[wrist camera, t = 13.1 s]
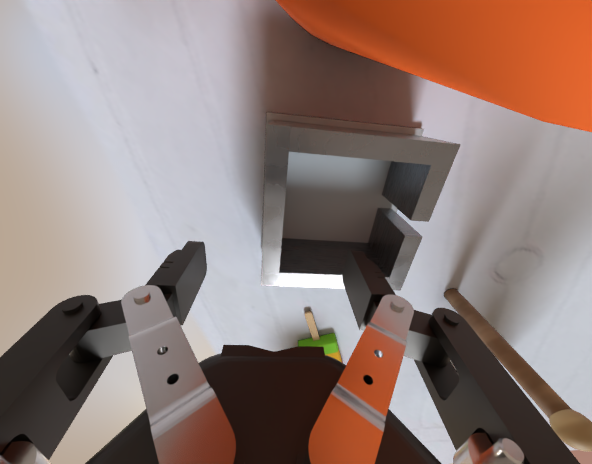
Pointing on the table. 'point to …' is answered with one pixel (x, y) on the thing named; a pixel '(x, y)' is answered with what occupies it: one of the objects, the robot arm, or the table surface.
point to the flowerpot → (473, 47)
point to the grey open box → (388, 224)
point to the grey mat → (333, 188)
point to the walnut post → (528, 378)
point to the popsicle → (321, 339)
